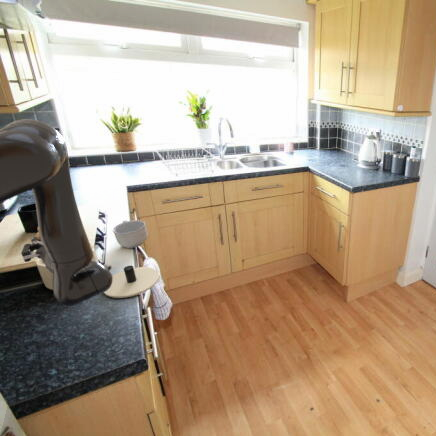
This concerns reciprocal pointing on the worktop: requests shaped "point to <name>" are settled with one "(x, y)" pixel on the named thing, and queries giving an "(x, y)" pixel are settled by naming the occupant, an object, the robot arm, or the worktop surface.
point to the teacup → (131, 233)
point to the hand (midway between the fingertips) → (47, 236)
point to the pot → (48, 275)
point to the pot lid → (132, 281)
